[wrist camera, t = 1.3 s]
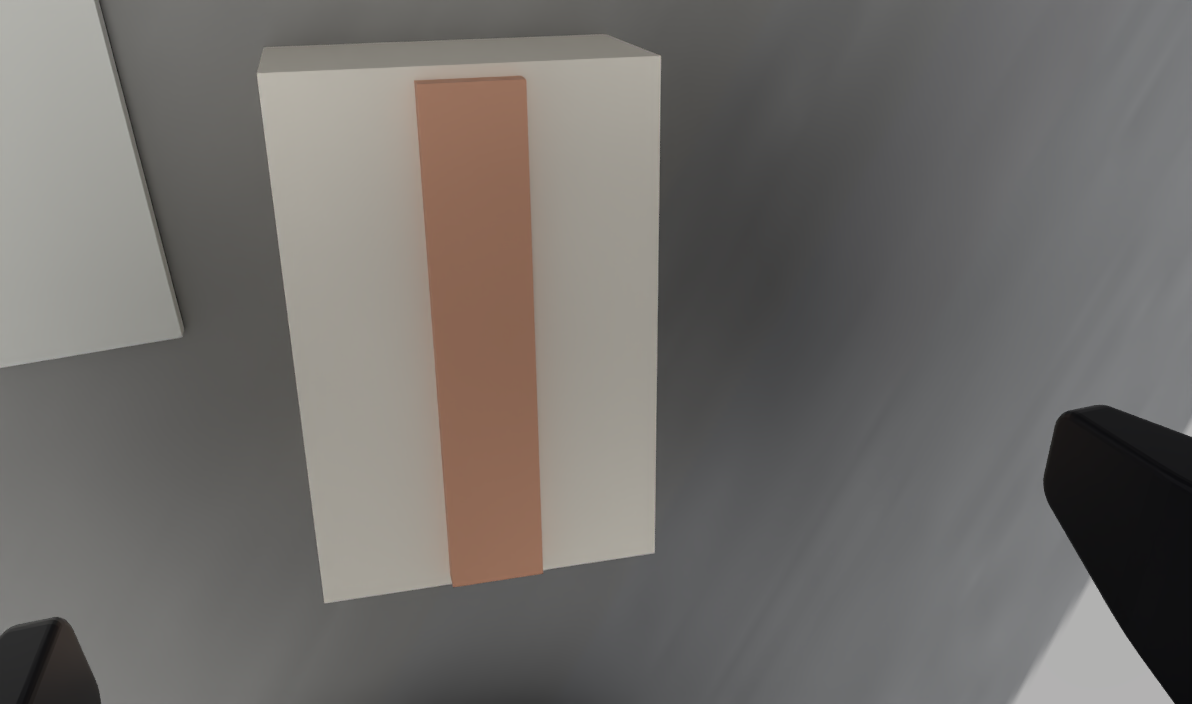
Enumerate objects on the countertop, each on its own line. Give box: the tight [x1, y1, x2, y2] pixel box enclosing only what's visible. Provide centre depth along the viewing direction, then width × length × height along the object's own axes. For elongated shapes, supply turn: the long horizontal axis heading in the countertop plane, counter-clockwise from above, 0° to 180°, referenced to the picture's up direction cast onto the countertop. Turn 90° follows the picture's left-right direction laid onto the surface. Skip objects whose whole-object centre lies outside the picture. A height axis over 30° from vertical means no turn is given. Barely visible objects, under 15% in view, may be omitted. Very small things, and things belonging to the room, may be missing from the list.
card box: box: [257, 34, 661, 603], centre depth 19 cm, size 9×6×4 cm, turn 1°
